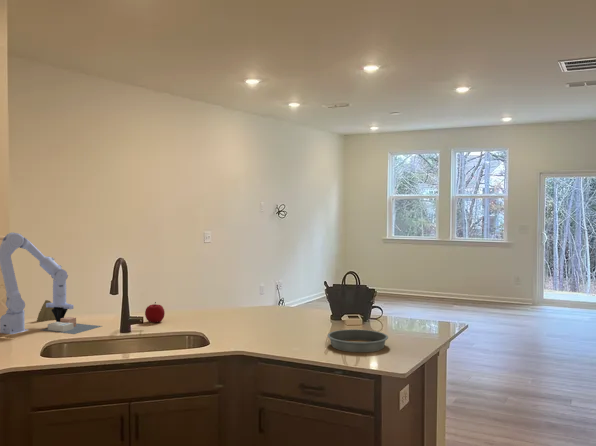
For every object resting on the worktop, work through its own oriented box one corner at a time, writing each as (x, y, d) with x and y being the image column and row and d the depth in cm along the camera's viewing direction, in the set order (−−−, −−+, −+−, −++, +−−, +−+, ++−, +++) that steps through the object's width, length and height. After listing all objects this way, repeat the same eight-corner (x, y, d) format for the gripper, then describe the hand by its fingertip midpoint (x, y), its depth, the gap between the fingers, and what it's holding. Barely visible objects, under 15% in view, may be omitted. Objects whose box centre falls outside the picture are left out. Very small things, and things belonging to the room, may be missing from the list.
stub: (68, 328, 255) (68, 319, 255) (60, 327, 257) (60, 318, 256) (76, 326, 259) (76, 317, 259) (67, 325, 261) (67, 316, 261)
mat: (74, 335, 243) (74, 334, 243) (39, 331, 250) (39, 330, 250) (102, 327, 260) (102, 326, 260) (68, 323, 267) (68, 322, 267)
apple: (167, 320, 277) (167, 300, 277) (160, 324, 268) (160, 303, 268) (149, 320, 278) (149, 299, 278) (142, 323, 269) (142, 302, 269)
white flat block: (63, 331, 248) (63, 325, 248) (47, 329, 251) (47, 323, 251) (73, 328, 253) (73, 322, 253) (57, 327, 256) (57, 321, 256)
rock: (68, 314, 279) (52, 310, 283) (62, 302, 274) (46, 298, 277) (54, 330, 272) (38, 326, 275) (47, 318, 266) (31, 314, 270)
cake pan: (399, 345, 229) (399, 334, 229) (365, 357, 211) (365, 345, 211) (351, 336, 246) (351, 326, 245) (315, 346, 227) (315, 335, 227)
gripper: (78, 294, 260) (78, 323, 261) (54, 292, 266) (54, 320, 266) (67, 296, 254) (67, 326, 254) (42, 294, 259) (42, 323, 259)
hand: (59, 323), depth 260 cm, fingers closed
